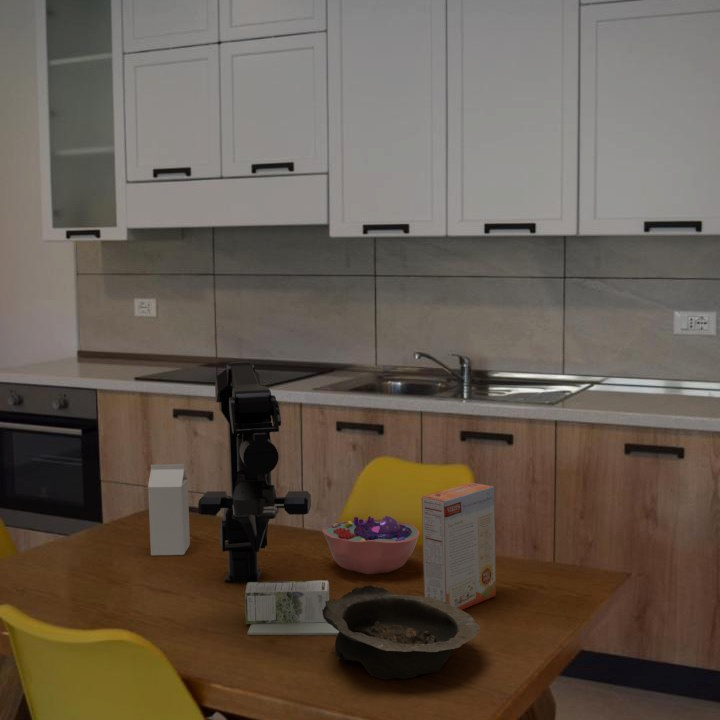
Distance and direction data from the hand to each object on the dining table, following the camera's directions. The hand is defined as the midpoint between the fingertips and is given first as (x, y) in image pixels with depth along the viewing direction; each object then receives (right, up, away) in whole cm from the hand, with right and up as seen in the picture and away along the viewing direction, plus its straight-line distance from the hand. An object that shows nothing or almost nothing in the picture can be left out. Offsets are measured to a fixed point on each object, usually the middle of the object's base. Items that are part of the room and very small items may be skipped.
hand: (256, 551), depth 179 cm
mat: (+7, -12, +1) cm, 14 cm away
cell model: (+20, -9, +29) cm, 37 cm away
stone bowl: (+24, -14, -16) cm, 32 cm away
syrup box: (-2, -9, +1) cm, 10 cm away
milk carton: (-23, -8, +45) cm, 51 cm away
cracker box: (+36, -11, +9) cm, 39 cm away
